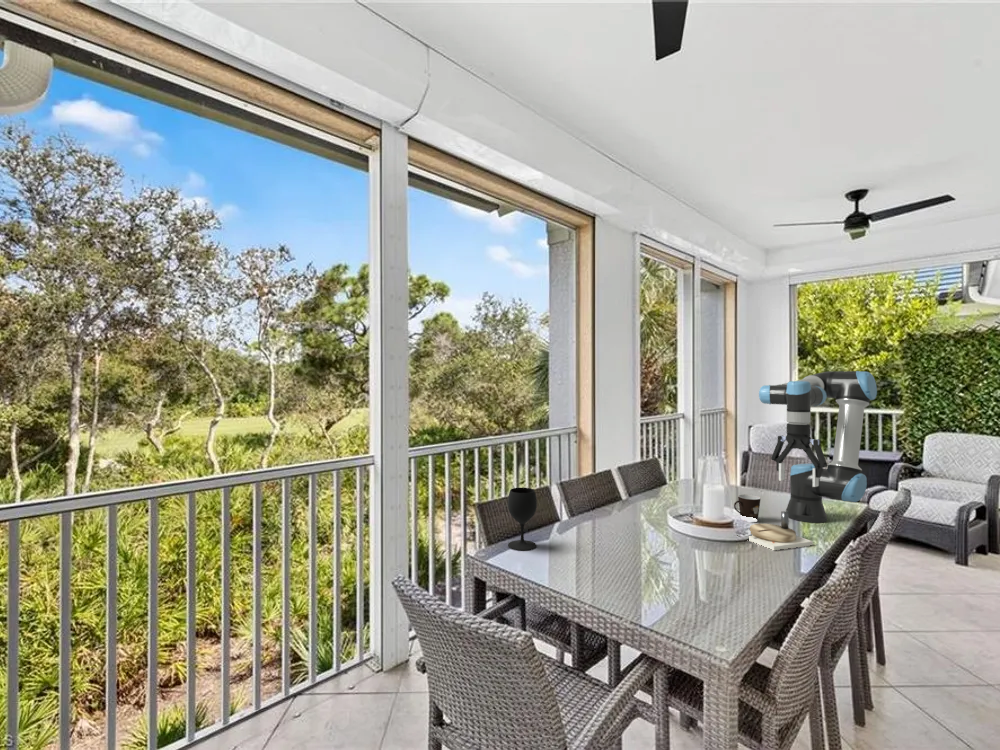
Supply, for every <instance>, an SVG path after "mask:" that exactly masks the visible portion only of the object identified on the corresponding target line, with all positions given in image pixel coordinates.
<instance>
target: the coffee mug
mask: <svg viewBox="0 0 1000 750" xmlns="http://www.w3.org/2000/svg"><path fill="white" fill-rule="evenodd" d="M761 500H762V499H761V497H760V496H758V495H753V494H737V501H735V502H734V504H733V508H734V509H735V511H736V512H737V513H739V516H740V515H742V516H746V517H753V518H756V519H757V520H759V516H760V515H759V513H760V507H761V506H760V505H761ZM737 503H738V507H739V510H738V508H737V506H736V505H737Z"/></svg>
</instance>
